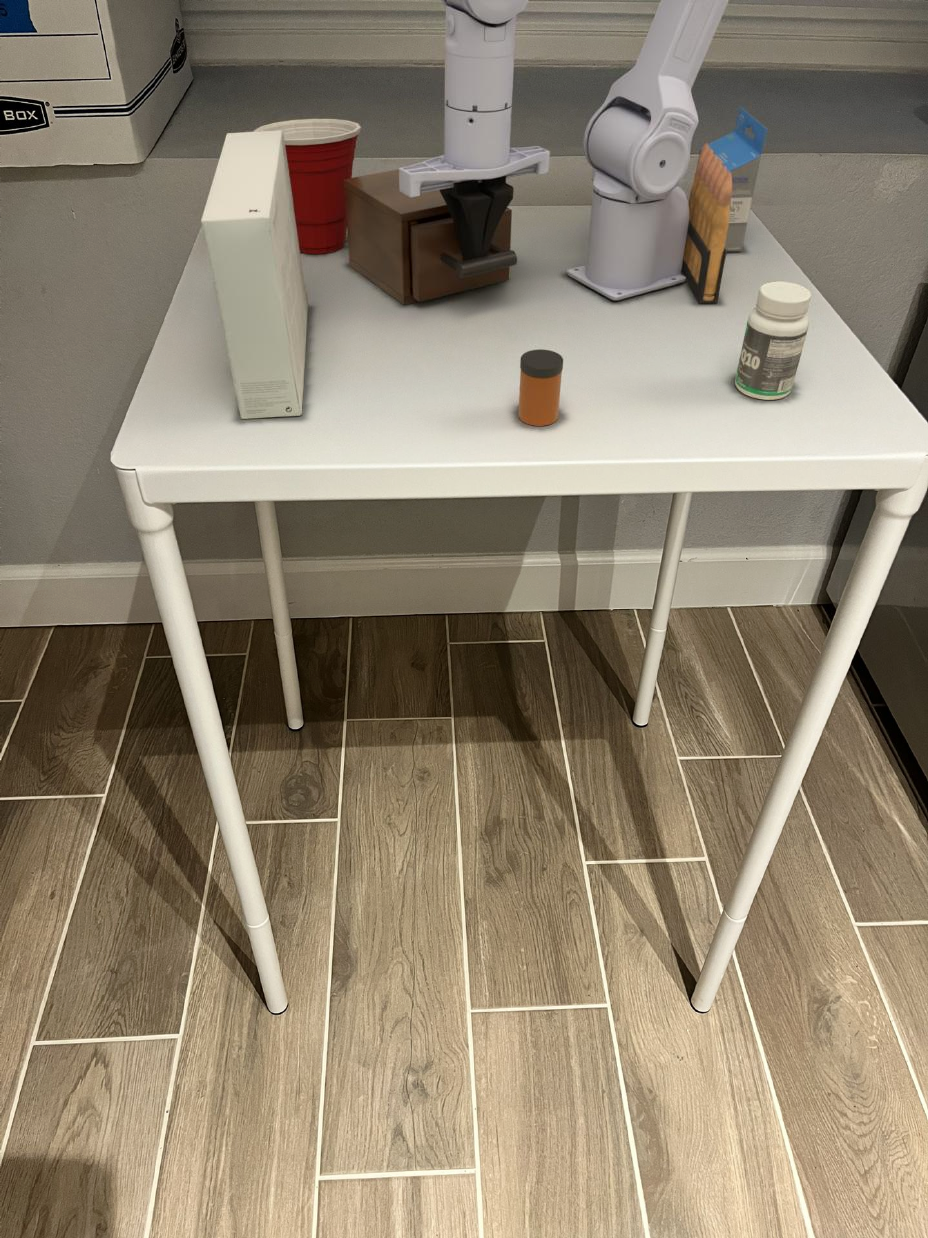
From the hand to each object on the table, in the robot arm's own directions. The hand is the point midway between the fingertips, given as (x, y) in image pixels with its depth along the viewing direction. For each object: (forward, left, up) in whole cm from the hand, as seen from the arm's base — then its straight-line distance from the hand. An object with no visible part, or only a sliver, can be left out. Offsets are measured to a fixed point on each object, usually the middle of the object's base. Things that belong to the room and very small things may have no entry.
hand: (473, 263), depth 90 cm
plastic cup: (+6, -23, -4) cm, 24 cm away
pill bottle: (-12, +26, -4) cm, 29 cm away
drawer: (0, -5, -3) cm, 6 cm away
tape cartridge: (-33, -2, -4) cm, 33 cm away
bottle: (+7, +20, -4) cm, 22 cm away
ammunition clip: (-23, +7, -4) cm, 24 cm away
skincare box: (+21, 0, -4) cm, 21 cm away
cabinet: (0, -10, -4) cm, 11 cm away
